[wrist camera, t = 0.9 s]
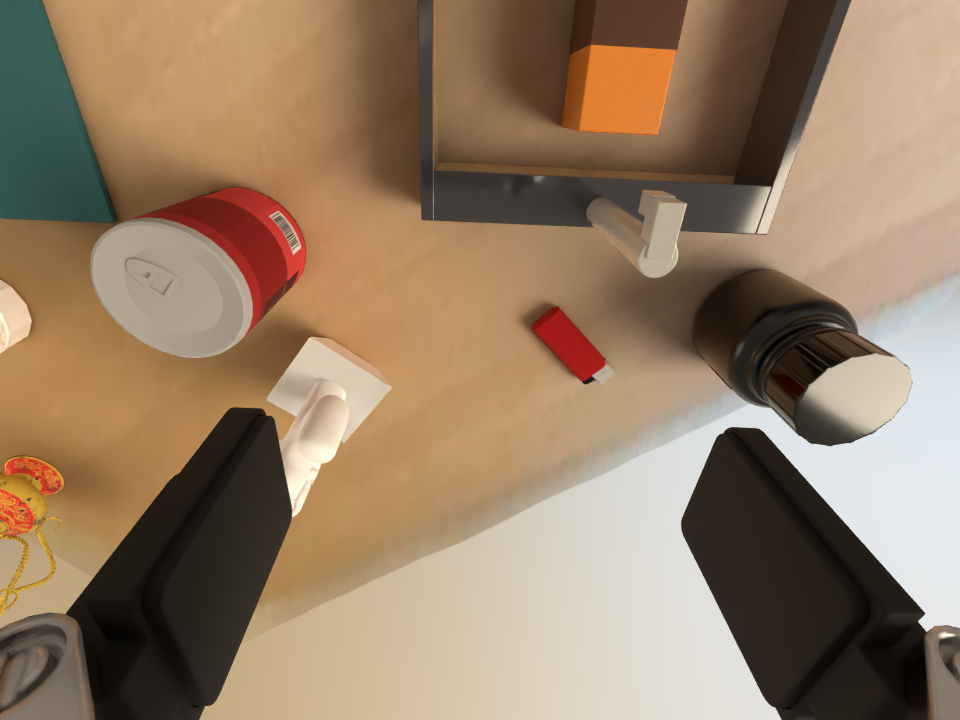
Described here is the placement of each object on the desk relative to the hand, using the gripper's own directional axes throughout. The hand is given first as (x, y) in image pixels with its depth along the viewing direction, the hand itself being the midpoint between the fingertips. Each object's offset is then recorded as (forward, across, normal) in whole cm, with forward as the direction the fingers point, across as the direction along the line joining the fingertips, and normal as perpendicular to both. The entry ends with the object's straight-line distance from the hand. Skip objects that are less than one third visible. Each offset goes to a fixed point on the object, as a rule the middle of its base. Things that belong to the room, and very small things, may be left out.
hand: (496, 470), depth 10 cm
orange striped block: (+26, -8, -11) cm, 30 cm away
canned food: (+27, +16, +3) cm, 31 cm away
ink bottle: (+26, -23, +7) cm, 36 cm away
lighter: (+26, -9, +11) cm, 30 cm away
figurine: (+26, +11, +14) cm, 32 cm away
